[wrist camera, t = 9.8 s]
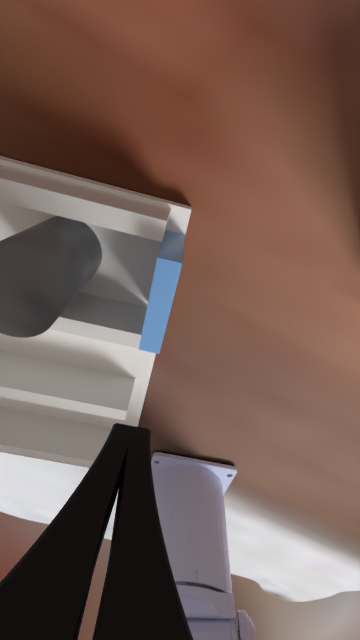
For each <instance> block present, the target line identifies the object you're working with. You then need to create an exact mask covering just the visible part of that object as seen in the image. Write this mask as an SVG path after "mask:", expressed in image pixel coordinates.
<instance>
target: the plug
mask: <svg viewBox="0 0 360 640" xmlns="http://www.w3.org/2000/svg"><path fill="white" fill-rule="evenodd" d="M101 260H102V249H101V245H100V242H99V240H98V238H97V236H96V234H95V233H94V232H93V230H92V229H91V228H90V227H89V226H88V225H86V224H85V223H84V222H81V221H77V220H73V219H69V218H65V217H61V216H55V217H52V218H50V219H47V220H45V221H43V222H41V223H39V224H36V225H34V226H32V227H30V228H28V229H25V230H23V231H21V232H19V233H17V234H14V235H12V236H10V237H8V238H6V239H3V240H1V241H0V333H2V334H5V335H8V336H12V337H19V338H28V337H34V336H37V335H40V334H42V333H44V332H45V331H47V330H48V329H49V328H50V327H51V326H52V325H53V323H54V322H55V321H56V320H57V319H58V317H59V316H60V315H61V314H62V312H63V311H64V310H65V309H66V308H67V306H68V305H69V304H70V303H71V302H72V300H73V299H74V298H75V297H76V295H77V294H78V293H79V292H80V291H81V289H82V288H83V287H84V286H85V284H86V283H87V282H88V281H89V280H90V278H91V277H92V276H93V275H94V274H95V272H96V271H97V270H98V268H99V266H100V264H101Z"/></svg>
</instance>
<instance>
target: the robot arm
mask: <svg viewBox="0 0 360 640" xmlns="http://www.w3.org/2000/svg"><path fill="white" fill-rule="evenodd" d="M150 434H151V431H150V430H149V429H146V428H141V427H135V426H130V425H125V424H119V423H116V424H113V427H112V429H111V432H110V434H109V436H108V438H107V440H106V442H105V444H104V446H103V447H102V449H101V451H100V453H99V454H98V456H97V458H96V459H95V461H94V462H93V464H92V466H91V467H90V469H89V470H88V472H87V473H86V475H85V477H84V478H83V480H82V481H81V483H80V484H79V485H78V487H77V488H76V490H75V491H74V492H73V494H72V495H71V497H70V498H69V499H68V501H67V502H66V504H65V505H64V506H63V508H62V509H61V510H60V512H59V513H58V514H57V516H56V517H55V518H54V519H53V521H52V522H51V523H50V524H49V526H48V527H47V528H46V530H45V531H44V532H43V533H42V535H41V536H40V537H39V538H38V540H37V541H36V542H35V543H34V544H33V545H32V547H31V548H30V549H29V550H28V551H27V553H26V554H25V555H24V556H23V557H22V558H21V560H20V561H19V562H18V563H17V564H16V565H15V566H14V568H13V569H12V570H11V571H10V572H9V573H8V574H7V576H6V577H5V578H4V579H3V580H2V581H1V582H0V640H77V639H78V635H79V631H80V627H81V623H82V618H83V614H84V610H85V606H86V601H87V597H88V593H89V589H90V585H91V580H92V576H93V572H94V568H95V565H96V561H97V557H98V554H99V551H100V548H101V544H102V541H103V538H104V535H105V531H106V528H107V525H108V522H109V518H110V515H111V512H112V509H113V506H114V502H115V499H116V496H117V493H118V499H117V506H116V513H115V520H114V527H113V534H112V541H111V548H110V555H109V562H108V567H107V573H106V578H105V582H104V587H103V592H102V597H101V602H100V606H99V611H98V616H97V621H96V625H95V630H94V634H93V639H92V640H238V637H239V640H257V635H256V630H255V626H254V623H253V622H252V620H251V619H250V617H248V616H247V613H246V612H245V610H238V611H237V614H238V627H239V630H238V636H237V626H236V615H235V604H234V595H233V594H232V586H231V576H230V564H229V552H228V541H227V530H226V518H225V507H224V496H223V495H224V493H225V491H226V490H227V488H228V486H229V485H230V483H231V481H232V480H233V478H234V476H235V475H236V473H237V470H236V467H234V466H231V465H225V464H220V463H215V462H209V461H204V460H199V459H193V458H188V457H182V456H177V455H172V454H166V453H161V452H155V453H154V454H153V456H152V459H151V454H150ZM118 489H119V492H118Z"/></svg>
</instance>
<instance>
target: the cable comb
mask: <svg viewBox="0 0 360 640" xmlns="http://www.w3.org/2000/svg"><path fill="white" fill-rule="evenodd" d="M191 209H192V206H188V205H184V204H180V203H176V202H173V201H169V200H165V199H161V198H158V197H154V196H150V195H146V194H142V193H139V192H135V191H131V190H127V189H124V188H120V187H116V186H112V185H109V184H105V183H101V182H97V181H93V180H90V179H86V178H82V177H78V176H75V175H71V174H67V173H63V172H59V171H56V170H52V169H48V168H44V167H41V166H37V165H33V164H29V163H25V162H22V161H18V160H14V159H10V158H7V157H3V156H0V241H1V240H3V239H6V238H8V237H10V236H12V235H14V234H17V233H19V232H21V231H23V230H25V229H28V228H30V227H32V226H34V225H36V224H39V223H41V222H43V221H45V220H47V219H50V218H52V217H55V216H61V217H65V218H69V219H73V220H77V221H81V222H84V223H85V224H86V225H88V226H89V227H90V228H91V229H92V230H93V232H94V233H95V234H96V236H97V238H98V240H99V242H100V245H101V249H102V260H101V264H100V266H99V268H98V270H97V271H96V272H95V274H94V275H93V276H92V277H91V278H90V280H89V281H88V282H87V283H86V284H85V286H84V287H83V288H82V289H81V291H80V292H79V293H78V294H77V295H76V297H75V298H74V299H73V300H72V302H71V303H70V304H69V305H68V306H67V308H66V309H65V310H64V311H63V312H62V314H61V315H60V316H59V317H58V319H57V320H56V321H55V322H54V323H53V325H52V326H51V327H50V328H49V329H48V330H47V331H45V332H44V333H42V334H40V335H37V336H34V337H28V338H19V337H12V336H8V335H5V334H2V333H0V452H4V453H9V454H15V455H21V456H26V457H32V458H38V459H43V460H49V461H54V462H60V463H66V464H71V465H77V466H83V467H88V468H90V467H91V466H92V464H93V462H94V461H95V459H96V458H97V456H98V454H99V453H100V451H101V449H102V447H103V446H104V444H105V442H106V440H107V438H108V436H109V434H110V432H111V429H112V427H113V424H116V423H119V424H125V425H130V426H135V427H138V424H139V419H140V415H141V411H142V407H143V403H144V399H145V395H146V391H147V387H148V383H149V379H150V375H151V371H152V367H153V363H154V359H155V355H156V353H157V354H159V353H160V349H161V345H162V341H163V337H164V334H165V330H166V326H167V322H168V318H169V314H170V310H171V306H172V302H173V298H174V294H175V291H176V287H177V283H178V279H179V275H180V271H181V267H182V263H183V252H184V242H185V234H186V230H187V226H188V222H189V218H190V214H191Z"/></svg>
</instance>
